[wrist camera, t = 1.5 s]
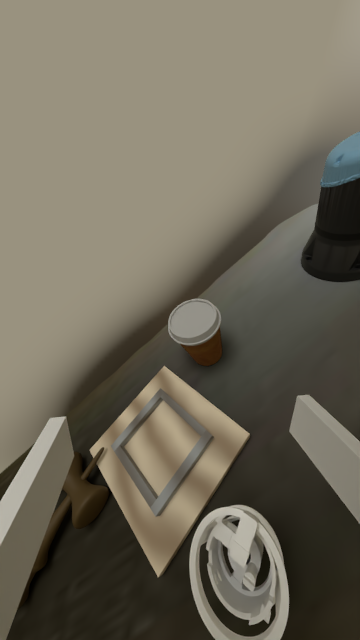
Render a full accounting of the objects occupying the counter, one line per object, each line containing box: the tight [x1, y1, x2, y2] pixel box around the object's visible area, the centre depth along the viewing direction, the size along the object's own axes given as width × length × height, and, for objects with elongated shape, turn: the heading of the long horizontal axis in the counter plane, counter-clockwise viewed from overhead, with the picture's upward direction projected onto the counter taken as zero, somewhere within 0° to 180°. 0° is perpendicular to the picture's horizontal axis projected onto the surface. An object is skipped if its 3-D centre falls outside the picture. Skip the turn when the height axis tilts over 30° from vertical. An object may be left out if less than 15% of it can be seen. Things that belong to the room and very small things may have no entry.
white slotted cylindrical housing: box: [189, 505, 289, 640], centre depth 20 cm, size 7×7×15 cm
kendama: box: [17, 447, 109, 609], centre depth 32 cm, size 6×10×20 cm
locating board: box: [90, 366, 250, 577], centre depth 34 cm, size 20×20×3 cm
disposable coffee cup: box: [168, 299, 222, 366], centre depth 40 cm, size 10×10×12 cm
